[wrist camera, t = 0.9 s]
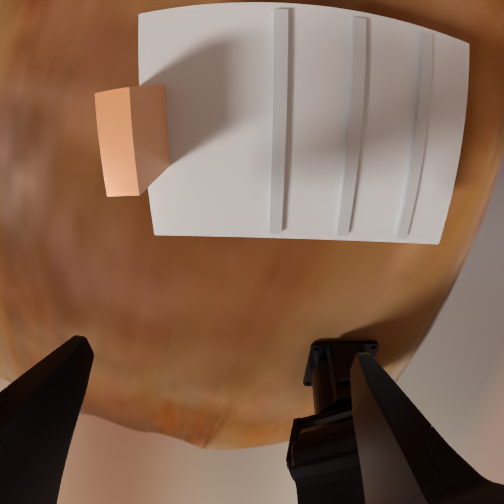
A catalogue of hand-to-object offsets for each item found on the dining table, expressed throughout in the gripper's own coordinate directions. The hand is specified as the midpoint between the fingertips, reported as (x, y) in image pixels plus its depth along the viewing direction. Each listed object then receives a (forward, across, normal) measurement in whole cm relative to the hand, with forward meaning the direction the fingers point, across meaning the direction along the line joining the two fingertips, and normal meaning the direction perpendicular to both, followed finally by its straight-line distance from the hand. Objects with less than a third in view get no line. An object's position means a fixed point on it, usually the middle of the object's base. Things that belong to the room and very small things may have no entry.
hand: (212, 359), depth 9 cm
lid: (+9, -4, -6) cm, 11 cm away
